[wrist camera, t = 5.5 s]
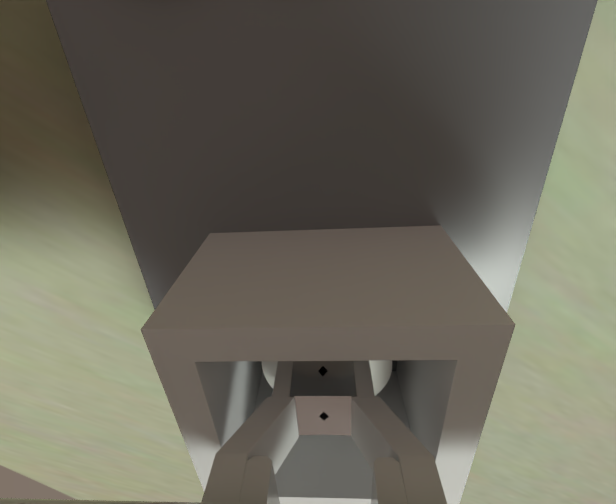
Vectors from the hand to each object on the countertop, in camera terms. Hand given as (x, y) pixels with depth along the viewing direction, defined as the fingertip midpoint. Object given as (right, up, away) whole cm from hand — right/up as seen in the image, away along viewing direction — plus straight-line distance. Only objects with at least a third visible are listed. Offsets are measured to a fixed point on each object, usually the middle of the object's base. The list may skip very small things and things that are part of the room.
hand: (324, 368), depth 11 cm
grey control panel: (0, +6, +1) cm, 6 cm away
